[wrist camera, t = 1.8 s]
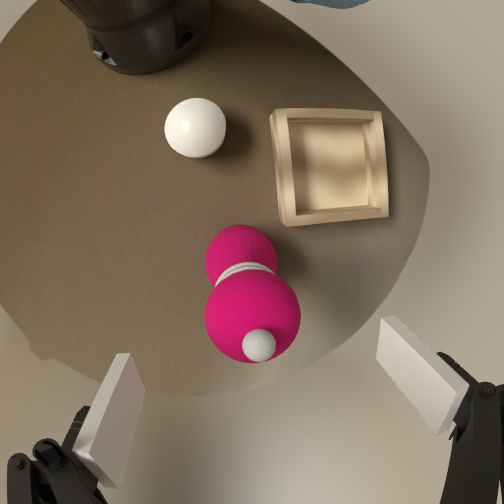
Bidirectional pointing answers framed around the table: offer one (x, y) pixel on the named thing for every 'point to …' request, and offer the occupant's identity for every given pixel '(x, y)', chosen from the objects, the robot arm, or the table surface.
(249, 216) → the table surface
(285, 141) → the tray
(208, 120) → the white egg-shaped pebble
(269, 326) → the pepper mill
